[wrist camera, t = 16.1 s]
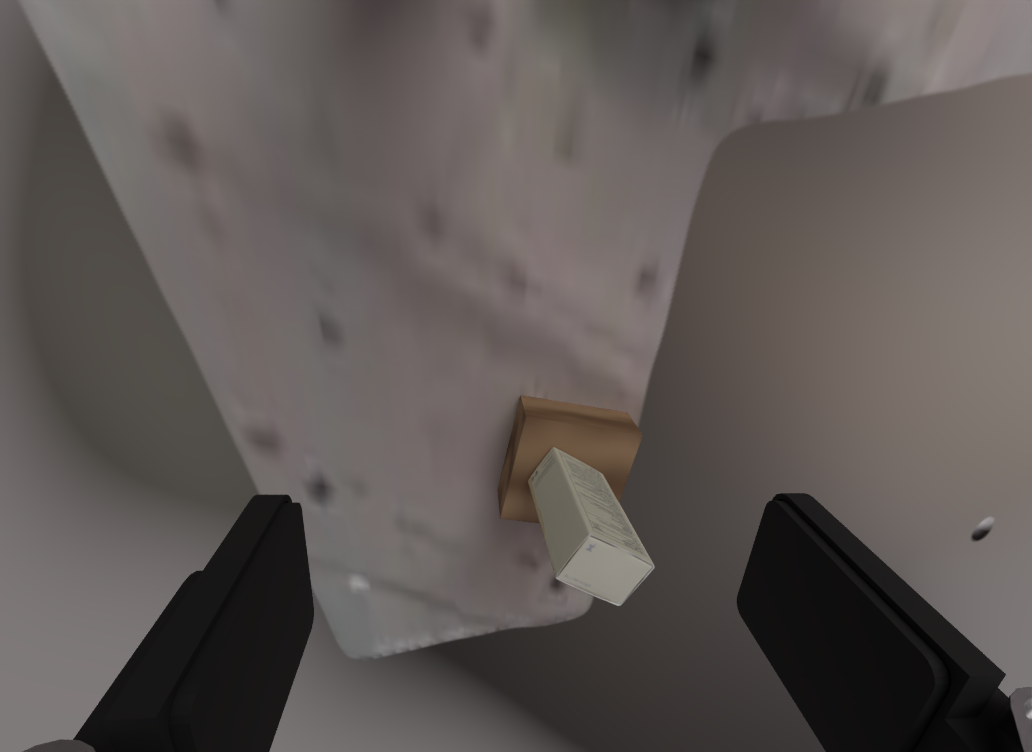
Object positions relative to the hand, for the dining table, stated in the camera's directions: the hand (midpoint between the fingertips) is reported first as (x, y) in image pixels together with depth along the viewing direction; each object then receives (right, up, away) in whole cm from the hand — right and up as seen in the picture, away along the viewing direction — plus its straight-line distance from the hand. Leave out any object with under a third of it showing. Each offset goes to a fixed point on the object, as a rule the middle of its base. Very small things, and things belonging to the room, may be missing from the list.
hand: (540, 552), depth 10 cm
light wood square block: (+4, -4, +40) cm, 40 cm away
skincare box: (+4, -6, +35) cm, 36 cm away
